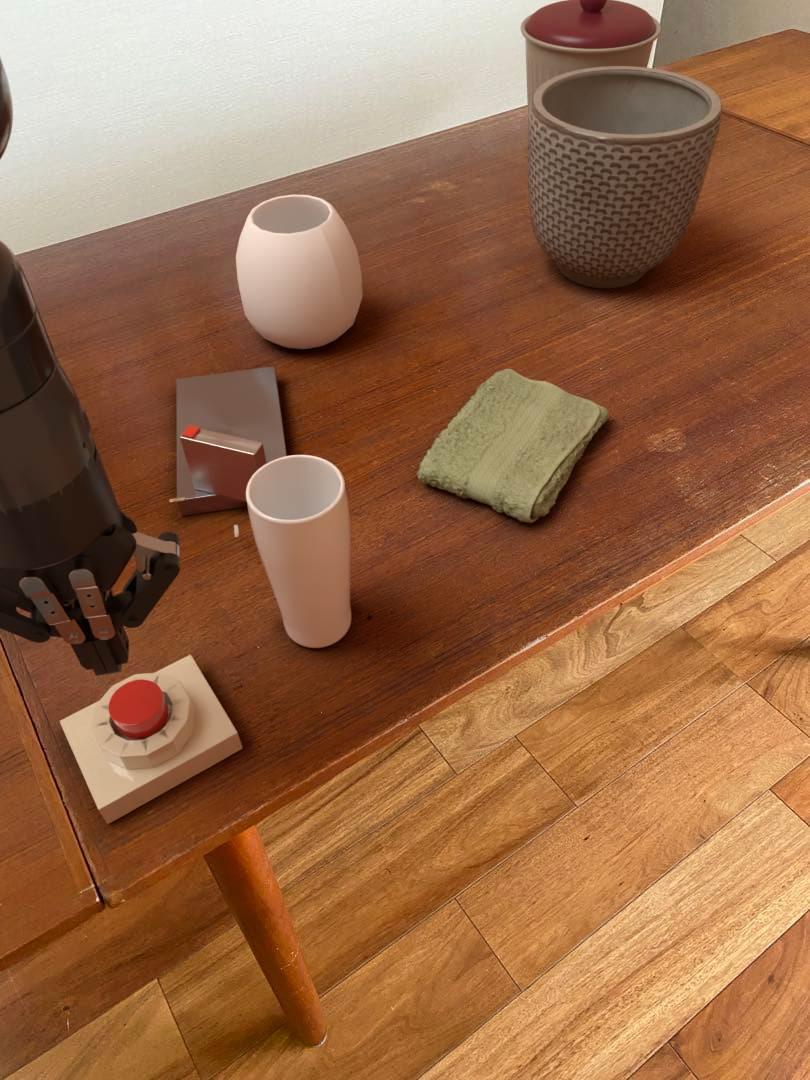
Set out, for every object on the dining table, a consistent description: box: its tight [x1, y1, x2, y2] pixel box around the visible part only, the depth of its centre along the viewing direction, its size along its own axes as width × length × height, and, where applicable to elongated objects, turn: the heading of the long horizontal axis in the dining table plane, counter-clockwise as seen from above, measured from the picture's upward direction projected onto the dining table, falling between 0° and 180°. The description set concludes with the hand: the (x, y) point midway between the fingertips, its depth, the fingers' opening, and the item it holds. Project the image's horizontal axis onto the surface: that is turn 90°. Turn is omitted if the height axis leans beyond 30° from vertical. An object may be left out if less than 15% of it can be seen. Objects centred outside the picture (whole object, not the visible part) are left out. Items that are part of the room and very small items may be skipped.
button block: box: [59, 654, 243, 825], centre depth 60 cm, size 10×8×4 cm
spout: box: [180, 425, 267, 502], centre depth 74 cm, size 7×2×6 cm, turn 70°
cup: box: [235, 194, 364, 350], centre depth 92 cm, size 13×13×14 cm
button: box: [109, 680, 169, 739], centre depth 58 cm, size 4×4×2 cm
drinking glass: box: [246, 454, 353, 649], centre depth 63 cm, size 7×7×15 cm
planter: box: [527, 66, 723, 290], centre depth 97 cm, size 20×20×19 cm
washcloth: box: [416, 368, 611, 524], centre depth 80 cm, size 13×18×3 cm
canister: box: [520, 0, 662, 120], centre depth 117 cm, size 18×18×21 cm
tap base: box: [168, 365, 288, 539], centre depth 81 cm, size 24×11×2 cm, turn 10°
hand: (110, 662), depth 54 cm, fingers closed
